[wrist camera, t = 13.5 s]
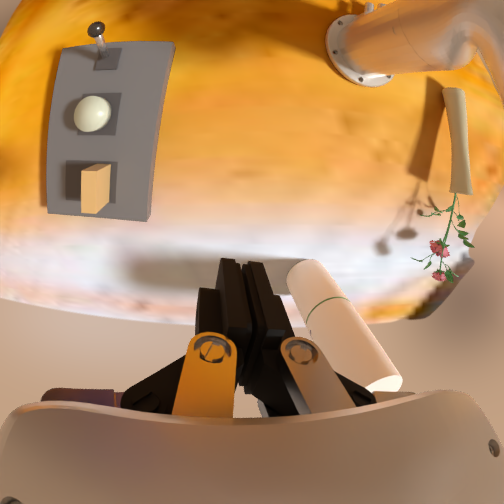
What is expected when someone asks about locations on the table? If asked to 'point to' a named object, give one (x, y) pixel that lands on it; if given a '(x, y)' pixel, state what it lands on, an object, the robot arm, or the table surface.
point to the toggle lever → (99, 37)
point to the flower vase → (454, 171)
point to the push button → (92, 113)
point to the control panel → (108, 125)
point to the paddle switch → (95, 188)
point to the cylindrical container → (340, 329)
